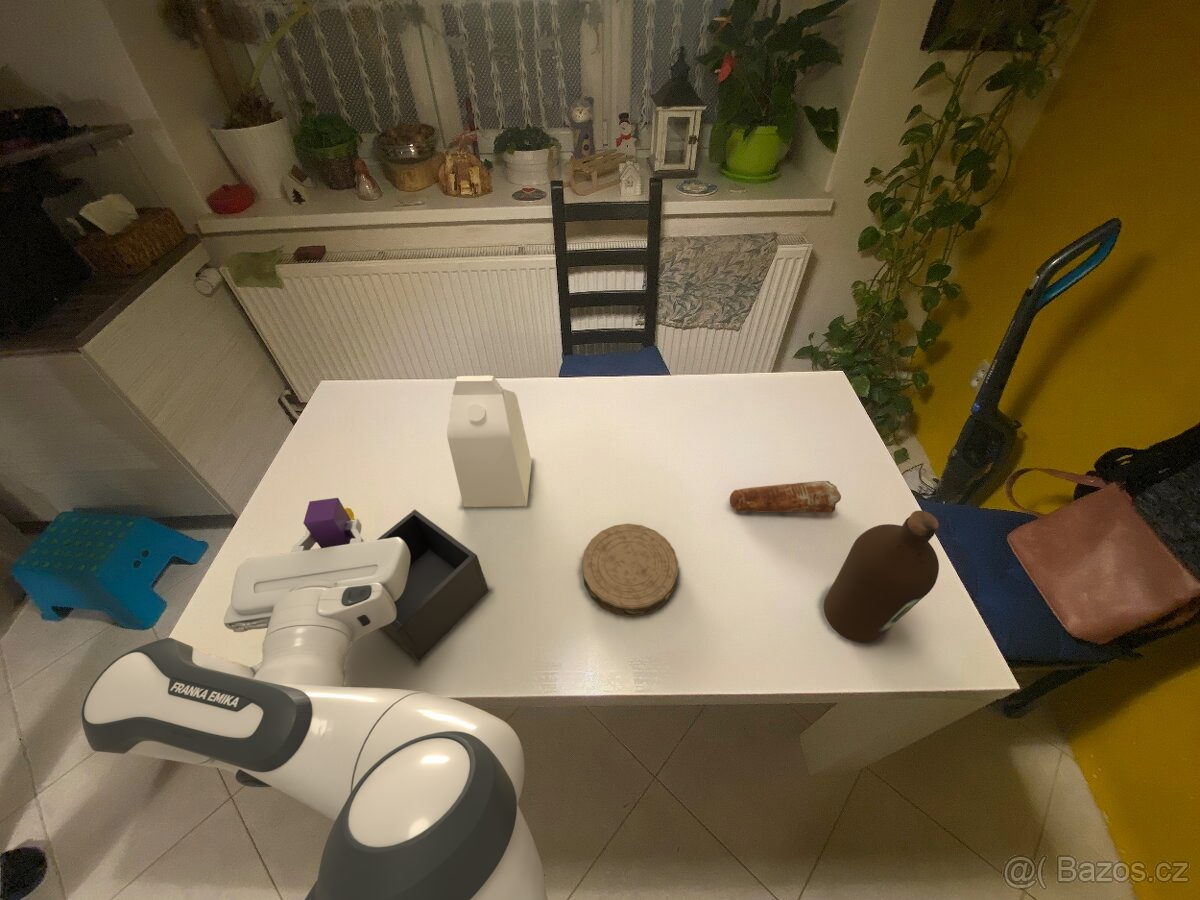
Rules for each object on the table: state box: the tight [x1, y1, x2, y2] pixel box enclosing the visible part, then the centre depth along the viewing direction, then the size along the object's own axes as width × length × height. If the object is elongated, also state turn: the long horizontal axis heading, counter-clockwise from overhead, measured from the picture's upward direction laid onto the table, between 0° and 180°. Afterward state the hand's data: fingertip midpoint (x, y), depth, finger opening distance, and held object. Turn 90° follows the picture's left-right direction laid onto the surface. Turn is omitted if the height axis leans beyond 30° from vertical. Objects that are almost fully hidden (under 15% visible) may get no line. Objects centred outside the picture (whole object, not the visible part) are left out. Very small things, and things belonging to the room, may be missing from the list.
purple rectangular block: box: [303, 497, 355, 548], centre depth 69 cm, size 4×4×10 cm
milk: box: [446, 375, 533, 508], centre depth 91 cm, size 12×12×26 cm
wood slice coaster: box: [581, 523, 679, 618], centre depth 85 cm, size 16×16×3 cm
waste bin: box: [376, 509, 490, 663], centre depth 79 cm, size 15×15×11 cm
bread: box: [729, 480, 842, 514], centre depth 94 cm, size 6×19×6 cm, turn 88°
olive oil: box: [823, 510, 940, 644], centre depth 72 cm, size 11×11×25 cm
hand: (335, 525), depth 69 cm, fingers closed on purple rectangular block, 3 cm apart
